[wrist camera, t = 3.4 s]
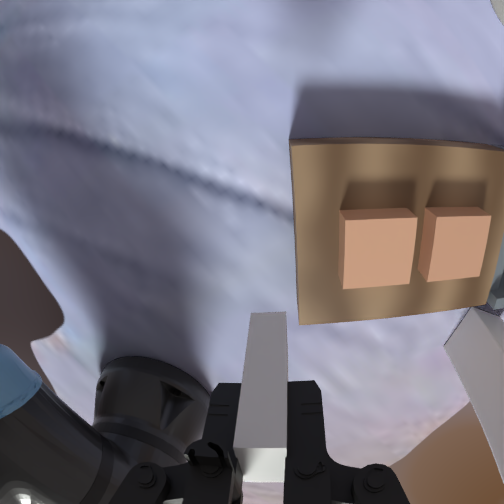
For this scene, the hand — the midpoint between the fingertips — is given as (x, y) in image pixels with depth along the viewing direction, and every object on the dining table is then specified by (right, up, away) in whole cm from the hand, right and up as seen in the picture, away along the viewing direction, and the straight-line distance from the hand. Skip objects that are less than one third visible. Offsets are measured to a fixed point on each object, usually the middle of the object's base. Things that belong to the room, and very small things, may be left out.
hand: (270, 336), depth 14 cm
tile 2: (+8, +4, +8) cm, 12 cm away
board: (+11, +6, +11) cm, 17 cm away
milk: (+25, -5, +16) cm, 30 cm away
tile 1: (+14, +5, +7) cm, 17 cm away
